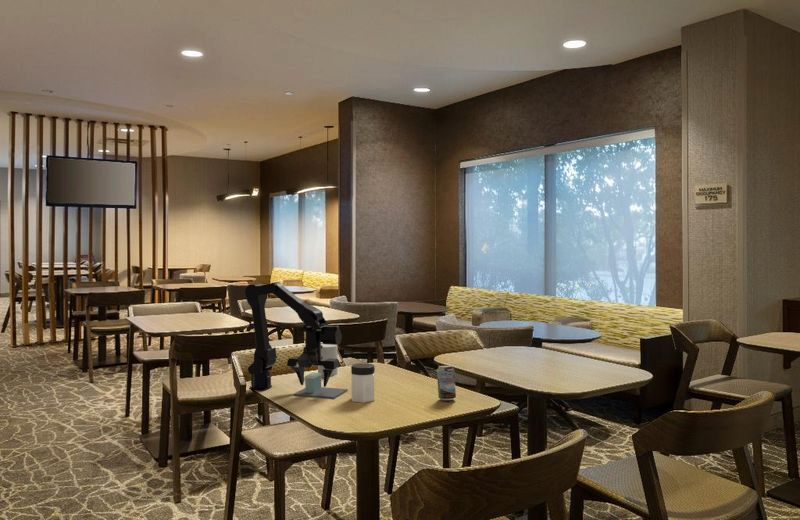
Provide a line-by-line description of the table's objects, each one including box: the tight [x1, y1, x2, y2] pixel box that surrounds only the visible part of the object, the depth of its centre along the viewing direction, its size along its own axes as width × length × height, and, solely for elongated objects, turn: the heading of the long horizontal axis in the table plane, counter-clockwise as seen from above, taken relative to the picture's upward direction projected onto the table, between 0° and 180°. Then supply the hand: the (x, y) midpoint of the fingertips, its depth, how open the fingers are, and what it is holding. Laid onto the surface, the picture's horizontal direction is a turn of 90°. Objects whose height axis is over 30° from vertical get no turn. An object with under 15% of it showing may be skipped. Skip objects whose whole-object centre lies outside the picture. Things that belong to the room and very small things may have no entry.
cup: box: [317, 343, 339, 377], centre depth 253 cm, size 8×8×12 cm
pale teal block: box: [304, 372, 322, 393], centre depth 222 cm, size 4×6×6 cm, turn 162°
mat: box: [293, 386, 349, 400], centre depth 221 cm, size 16×12×1 cm
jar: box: [350, 362, 376, 404], centre depth 212 cm, size 9×8×12 cm
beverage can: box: [436, 365, 457, 401], centre depth 211 cm, size 6×7×12 cm
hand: (313, 385), depth 222 cm, fingers open, 9 cm apart
